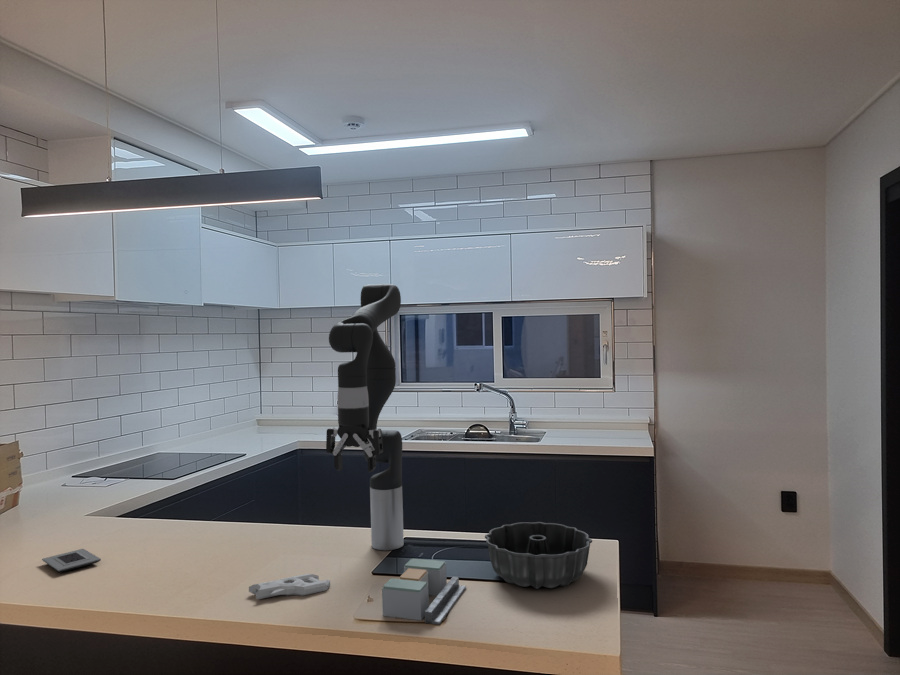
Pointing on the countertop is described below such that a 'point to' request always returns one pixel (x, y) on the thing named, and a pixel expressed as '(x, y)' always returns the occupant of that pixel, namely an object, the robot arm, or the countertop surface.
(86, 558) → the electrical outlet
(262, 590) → the grey flat plastic piece
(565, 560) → the bundt pan
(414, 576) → the block
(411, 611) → the block
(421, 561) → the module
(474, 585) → the countertop surface
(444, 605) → the rail
